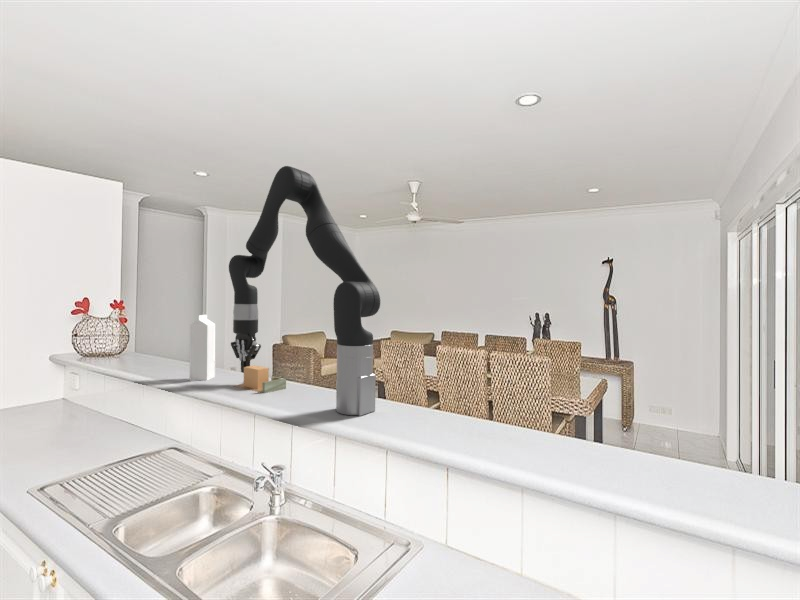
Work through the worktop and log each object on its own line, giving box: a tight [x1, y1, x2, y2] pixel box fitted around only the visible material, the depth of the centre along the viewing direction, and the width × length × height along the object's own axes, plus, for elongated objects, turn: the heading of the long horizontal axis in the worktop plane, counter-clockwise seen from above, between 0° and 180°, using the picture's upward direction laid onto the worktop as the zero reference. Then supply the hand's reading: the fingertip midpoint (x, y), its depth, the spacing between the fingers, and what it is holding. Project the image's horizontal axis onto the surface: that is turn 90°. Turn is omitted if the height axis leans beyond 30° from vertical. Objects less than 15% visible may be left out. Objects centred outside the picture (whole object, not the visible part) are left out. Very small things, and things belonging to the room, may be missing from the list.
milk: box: [189, 314, 216, 382], centre depth 151 cm, size 6×6×22 cm
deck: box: [233, 376, 287, 394], centre depth 139 cm, size 16×8×4 cm, turn 55°
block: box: [243, 364, 270, 389], centre depth 140 cm, size 7×4×6 cm, turn 55°
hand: (245, 372), depth 143 cm, fingers closed
